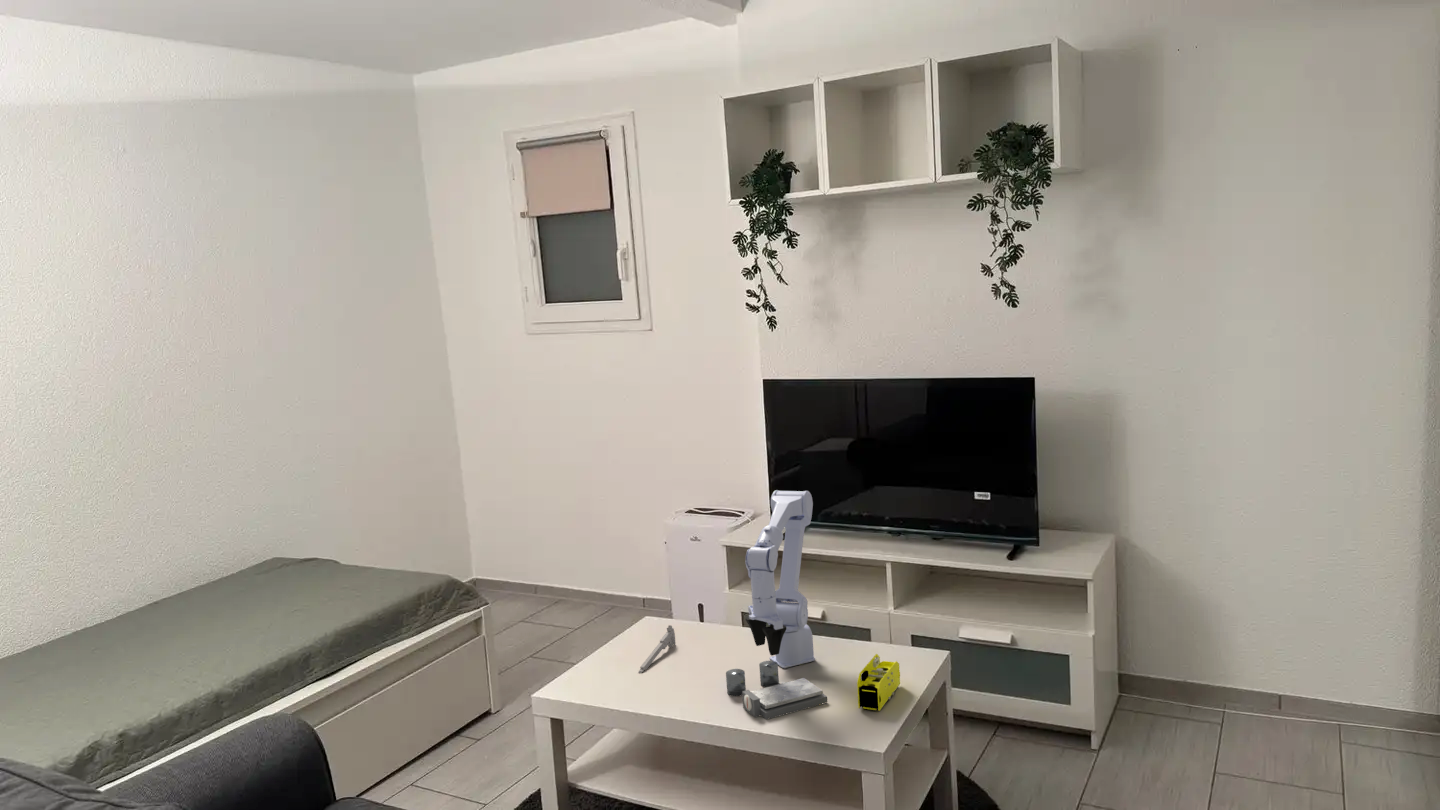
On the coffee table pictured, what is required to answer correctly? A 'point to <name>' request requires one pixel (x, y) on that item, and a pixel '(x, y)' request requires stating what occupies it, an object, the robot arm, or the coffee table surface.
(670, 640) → the caliper
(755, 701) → the scale base
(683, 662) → the coffee table surface
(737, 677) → the cylinder
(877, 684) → the yellow toy chassis
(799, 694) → the pan
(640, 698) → the coffee table surface
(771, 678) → the block
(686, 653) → the coffee table surface
